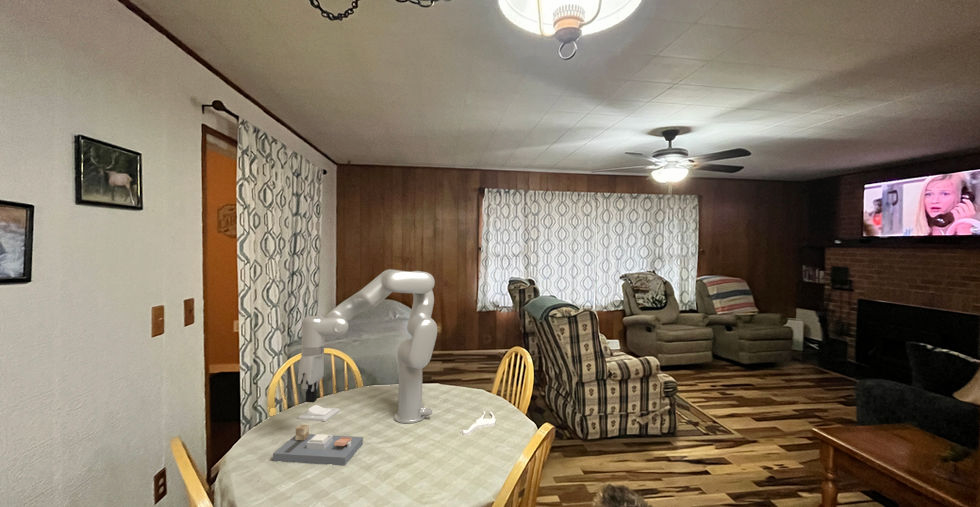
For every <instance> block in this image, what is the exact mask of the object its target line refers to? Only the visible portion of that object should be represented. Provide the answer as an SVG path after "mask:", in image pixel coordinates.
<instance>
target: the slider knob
mask: <svg viewBox="0 0 980 507" xmlns="http://www.w3.org/2000/svg"><path fill="white" fill-rule="evenodd" d="M309 429H310V425H309V424H299V425H298V426H297V427H296V428H295V435H296V440H305V439H306V438H307V437H309V434H310V431H309Z"/></svg>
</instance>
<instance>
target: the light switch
mask: <svg viewBox="0 0 980 507" xmlns="http://www.w3.org/2000/svg"><path fill="white" fill-rule="evenodd" d="M340 411H341V409H340V408H338V407H337V408H336V407H323V406H320V405H318V404H315V405H314V404H313V406H311V407H309V408H308V409H307V411H306V412H304V413H303V414H301V415H299V416H297V418H296V419H298V420H305V421H313V420H315V421H314V422H325V421H327V420H329V419H331V417H333V416H335V415H336V414H338V413H339V412H340Z"/></svg>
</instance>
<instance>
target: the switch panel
mask: <svg viewBox="0 0 980 507" xmlns="http://www.w3.org/2000/svg"><path fill="white" fill-rule="evenodd" d="M317 434H318V433H316V434H315V433H314V434H311V433H309V437H307V438H306V439H305V440H296V434H295V435H294V436H293V437H291V438H290V439H289V440H287V442H285V443H284V444H283V445H281V446H280V447H279V448H278V449H276V450H275V451H274V452H273V453H272V462H278V461H282V463H295V462H297V463H298V464H314V465H327V464H332V466H343V465H345V466H346V465H347V464H348V463H347V462H349V461H350V460H351V459H353V457H354V456H355V454H356V453H357V452H358V451H359V449H360V448H361V447H362V446H363V444H364V436H350V435H349V436H348V435H346V436H345V435H335V434H332V435H331V434H328V435H329V438H328V439H327V440H326V441H325V442H324V443H319V442H311V439H313V438H314V437H315V436H316V435H317ZM341 437H351V438H352V440H351V441H349V442H348V443H347V445H344V446H337V445H334V443H335V442H336V441H337V440H339V439H341ZM357 450H358V451H357Z"/></svg>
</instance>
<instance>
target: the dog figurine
mask: <svg viewBox="0 0 980 507" xmlns="http://www.w3.org/2000/svg"><path fill="white" fill-rule="evenodd" d="M481 412H482V413H483V414H482V415H481V417H479V418H478V419H477V418H476V420H475V422H474V423H473V424H471V426H470V427H469V428H468V429H464V430H462V429H461V430H459V432H460V434H461V433H462V436H464V435H465V437H466V436H470V435H472V433H473V432H475V431H476V430H478V429H477V428H480V429H483V427H484V428H492V427H491V426H493V427H495V426H496V424H495V423H496V421H497V420H496V416H495V415H494V413H493V411H488V413H489V414H491V416H492V417H491V418H485V415H486V410H482V411H481ZM494 425H495V426H494ZM474 430H475V431H474ZM469 434H470V435H469Z"/></svg>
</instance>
